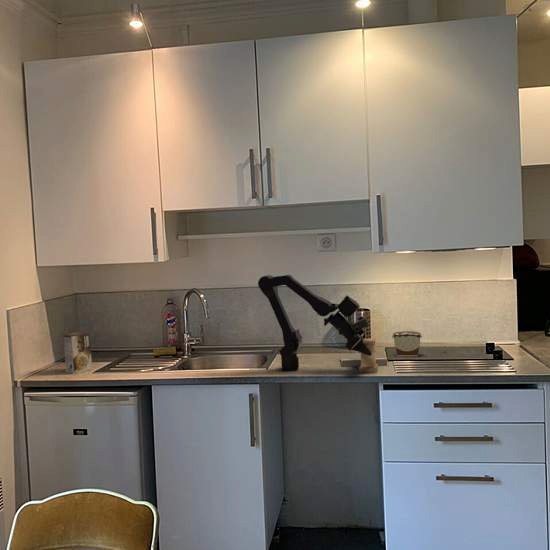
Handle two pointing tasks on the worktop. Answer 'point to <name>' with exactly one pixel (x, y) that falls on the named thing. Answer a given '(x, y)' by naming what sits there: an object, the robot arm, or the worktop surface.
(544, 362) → the worktop surface
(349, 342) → the robot arm
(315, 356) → the worktop surface
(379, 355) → the plate
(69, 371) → the coffee box
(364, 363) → the tan piece
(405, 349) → the food container
